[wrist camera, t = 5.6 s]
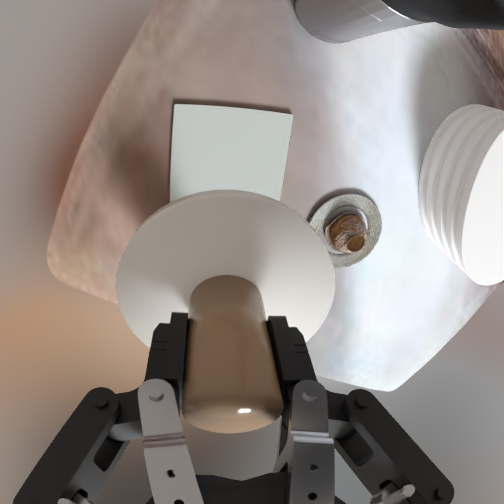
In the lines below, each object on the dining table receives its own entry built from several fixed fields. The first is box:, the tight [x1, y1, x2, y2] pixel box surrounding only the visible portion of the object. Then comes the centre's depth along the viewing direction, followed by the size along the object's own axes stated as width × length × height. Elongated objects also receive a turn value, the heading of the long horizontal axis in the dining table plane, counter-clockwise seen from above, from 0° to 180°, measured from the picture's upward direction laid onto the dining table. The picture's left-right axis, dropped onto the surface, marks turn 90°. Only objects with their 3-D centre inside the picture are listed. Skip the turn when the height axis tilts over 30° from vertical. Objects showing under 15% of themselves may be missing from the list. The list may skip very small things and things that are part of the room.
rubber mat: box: [170, 104, 293, 202], centre depth 36 cm, size 14×14×1 cm
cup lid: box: [116, 190, 335, 433], centre depth 12 cm, size 11×11×7 cm
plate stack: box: [418, 104, 504, 285], centre depth 36 cm, size 28×28×12 cm
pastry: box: [309, 194, 382, 268], centre depth 41 cm, size 12×12×5 cm
